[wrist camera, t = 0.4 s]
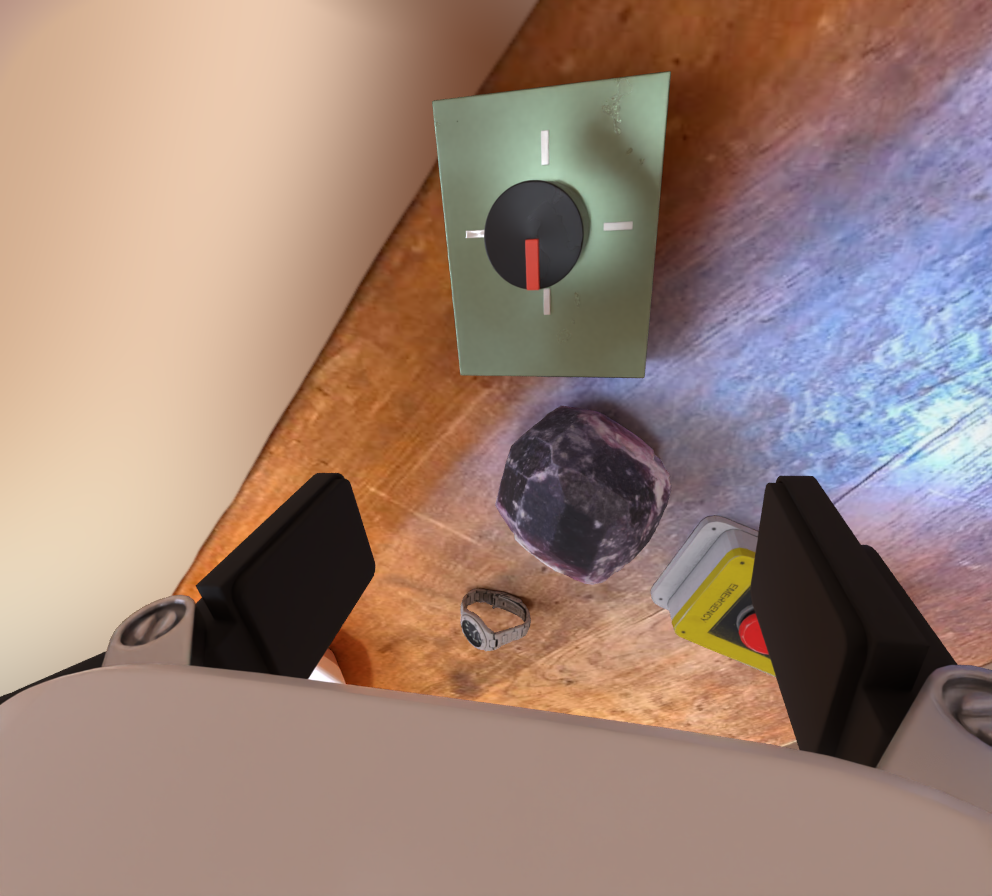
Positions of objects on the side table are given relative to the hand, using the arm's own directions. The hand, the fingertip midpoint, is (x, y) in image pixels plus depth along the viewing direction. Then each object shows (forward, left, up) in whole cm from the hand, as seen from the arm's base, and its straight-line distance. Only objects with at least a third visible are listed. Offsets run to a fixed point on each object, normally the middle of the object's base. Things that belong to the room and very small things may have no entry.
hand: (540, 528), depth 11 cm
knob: (-5, -2, -18) cm, 19 cm away
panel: (-4, -2, -21) cm, 22 cm away
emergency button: (+21, +14, -21) cm, 33 cm away
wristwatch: (+25, -7, -21) cm, 34 cm away
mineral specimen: (+10, 0, -21) cm, 24 cm away
